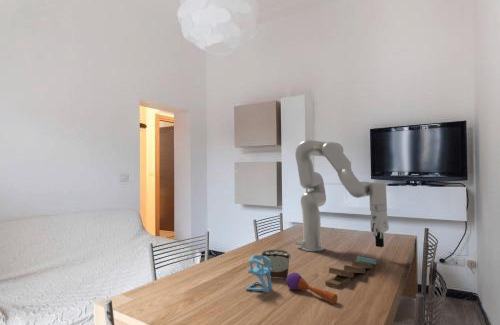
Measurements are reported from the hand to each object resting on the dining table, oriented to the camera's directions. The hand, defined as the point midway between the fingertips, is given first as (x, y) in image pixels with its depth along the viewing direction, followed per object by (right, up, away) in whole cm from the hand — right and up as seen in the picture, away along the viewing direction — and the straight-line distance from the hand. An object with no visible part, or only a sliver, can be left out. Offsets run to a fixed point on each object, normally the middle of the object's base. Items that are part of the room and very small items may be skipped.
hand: (379, 246), depth 140 cm
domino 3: (-16, -5, -16) cm, 23 cm away
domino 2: (-25, -6, -24) cm, 35 cm away
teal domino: (-7, -5, -5) cm, 10 cm away
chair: (-58, -7, -31) cm, 66 cm away
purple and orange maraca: (-41, -7, -37) cm, 56 cm away
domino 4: (-11, -5, -10) cm, 16 cm away
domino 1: (-23, -5, -22) cm, 32 cm away
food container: (-50, -7, -18) cm, 54 cm away
